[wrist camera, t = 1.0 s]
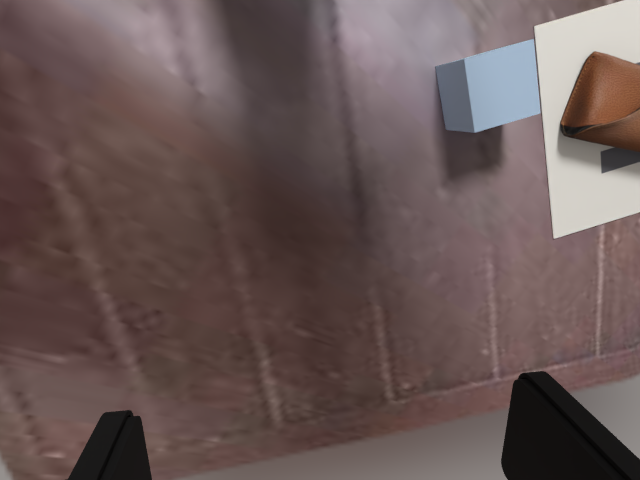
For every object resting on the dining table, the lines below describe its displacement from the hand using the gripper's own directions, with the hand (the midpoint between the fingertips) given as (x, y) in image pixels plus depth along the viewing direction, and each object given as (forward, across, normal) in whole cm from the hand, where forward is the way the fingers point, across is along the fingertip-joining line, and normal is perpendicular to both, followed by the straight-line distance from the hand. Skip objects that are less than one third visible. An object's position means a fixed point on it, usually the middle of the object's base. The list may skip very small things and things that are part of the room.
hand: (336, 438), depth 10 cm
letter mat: (+32, -38, -7) cm, 50 cm away
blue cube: (+32, -18, -9) cm, 38 cm away
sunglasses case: (+32, -38, -7) cm, 50 cm away
